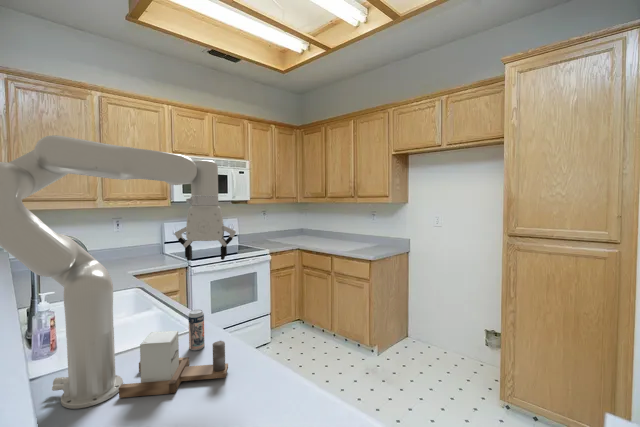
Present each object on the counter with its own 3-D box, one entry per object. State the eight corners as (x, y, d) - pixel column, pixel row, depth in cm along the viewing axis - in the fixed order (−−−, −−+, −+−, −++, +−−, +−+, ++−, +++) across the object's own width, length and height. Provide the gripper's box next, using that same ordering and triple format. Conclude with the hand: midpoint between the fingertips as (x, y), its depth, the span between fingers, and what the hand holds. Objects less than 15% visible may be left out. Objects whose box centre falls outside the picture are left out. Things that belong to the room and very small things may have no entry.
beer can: (192, 353, 100) (191, 315, 99) (186, 347, 103) (185, 311, 103) (207, 348, 103) (206, 311, 102) (201, 343, 107) (200, 307, 106)
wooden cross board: (119, 397, 77) (117, 362, 77) (141, 369, 90) (140, 338, 90) (223, 388, 81) (222, 355, 80) (230, 362, 93) (229, 333, 93)
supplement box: (171, 391, 80) (170, 342, 80) (140, 393, 79) (138, 344, 79) (180, 374, 88) (179, 330, 87) (151, 376, 87) (150, 331, 86)
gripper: (170, 202, 89) (172, 262, 90) (233, 202, 92) (234, 261, 93) (178, 202, 97) (179, 257, 98) (236, 202, 99) (237, 256, 100)
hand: (206, 259), depth 95 cm, fingers open, 9 cm apart
